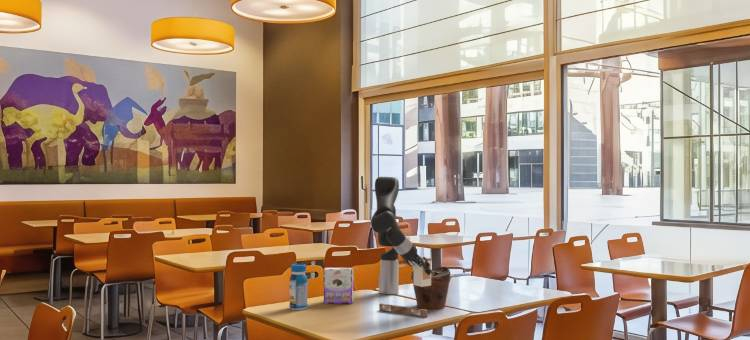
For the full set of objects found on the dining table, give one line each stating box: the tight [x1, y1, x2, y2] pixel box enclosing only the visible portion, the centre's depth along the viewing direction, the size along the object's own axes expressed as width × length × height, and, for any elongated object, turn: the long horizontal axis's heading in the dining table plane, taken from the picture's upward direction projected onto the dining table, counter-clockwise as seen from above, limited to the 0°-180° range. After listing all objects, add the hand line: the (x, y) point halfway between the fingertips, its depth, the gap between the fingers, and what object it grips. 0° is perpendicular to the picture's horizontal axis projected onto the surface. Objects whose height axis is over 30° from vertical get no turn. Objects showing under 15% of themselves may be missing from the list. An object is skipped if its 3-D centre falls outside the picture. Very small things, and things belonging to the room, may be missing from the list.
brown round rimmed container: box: [410, 266, 451, 310], centre depth 299 cm, size 18×20×18 cm
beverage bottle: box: [288, 263, 309, 311], centre depth 294 cm, size 8×8×20 cm
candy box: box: [322, 267, 354, 305], centre depth 308 cm, size 14×6×16 cm, turn 84°
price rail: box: [378, 303, 429, 318], centre depth 283 cm, size 24×2×3 cm, turn 56°
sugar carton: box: [412, 256, 432, 287], centre depth 285 cm, size 6×6×12 cm
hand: (425, 272), depth 286 cm, fingers closed on sugar carton, 5 cm apart
